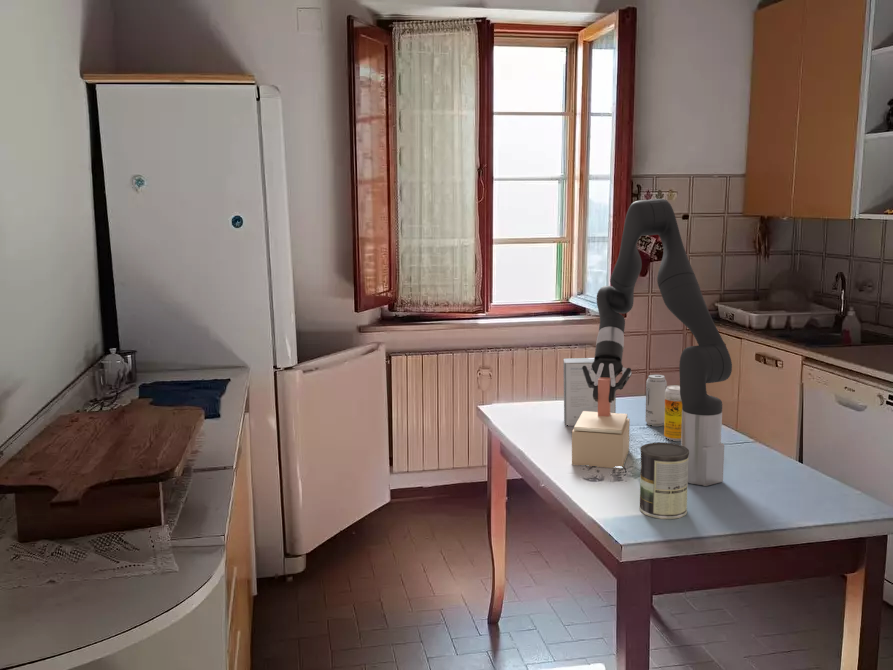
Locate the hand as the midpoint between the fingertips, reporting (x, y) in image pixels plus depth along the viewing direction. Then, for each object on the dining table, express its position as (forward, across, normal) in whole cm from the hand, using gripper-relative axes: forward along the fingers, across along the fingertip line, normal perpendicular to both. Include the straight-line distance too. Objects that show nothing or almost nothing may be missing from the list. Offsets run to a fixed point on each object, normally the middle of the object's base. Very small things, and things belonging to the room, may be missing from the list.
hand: (603, 400), depth 215 cm
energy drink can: (-12, +12, +35) cm, 39 cm away
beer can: (-3, +18, +25) cm, 31 cm away
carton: (+13, 0, +8) cm, 15 cm away
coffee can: (+36, +18, -16) cm, 44 cm away
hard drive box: (-10, -8, +32) cm, 35 cm away
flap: (+7, 0, +1) cm, 7 cm away
